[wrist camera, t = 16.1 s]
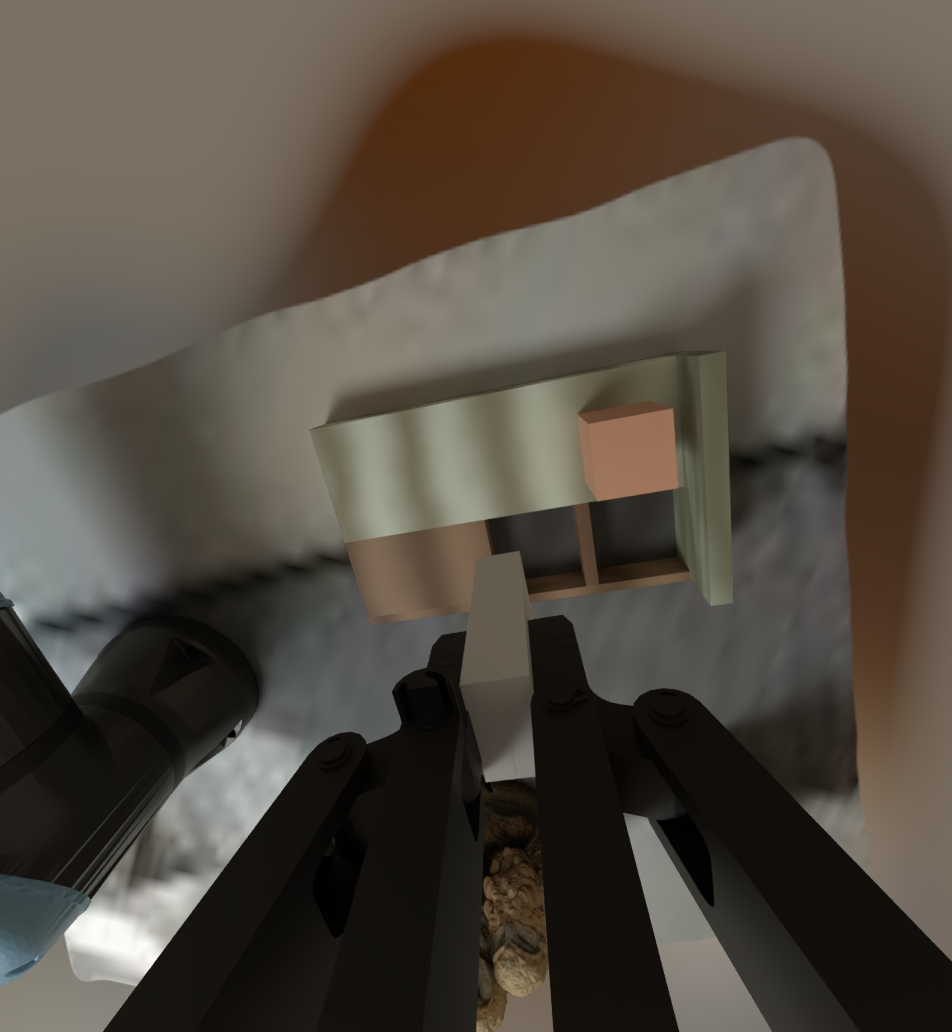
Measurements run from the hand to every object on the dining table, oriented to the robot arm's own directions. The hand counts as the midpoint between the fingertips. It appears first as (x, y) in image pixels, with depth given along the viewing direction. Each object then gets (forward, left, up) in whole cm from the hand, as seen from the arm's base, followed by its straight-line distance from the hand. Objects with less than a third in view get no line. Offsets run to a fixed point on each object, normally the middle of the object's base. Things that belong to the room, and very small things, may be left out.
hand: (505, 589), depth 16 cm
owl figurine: (-10, -39, -23) cm, 46 cm away
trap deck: (0, -3, -22) cm, 23 cm away
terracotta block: (+8, 0, -19) cm, 21 cm away
